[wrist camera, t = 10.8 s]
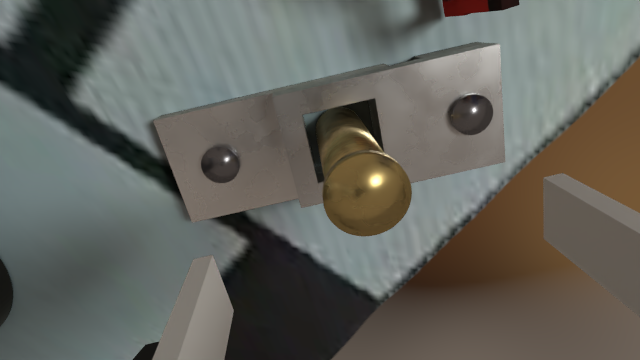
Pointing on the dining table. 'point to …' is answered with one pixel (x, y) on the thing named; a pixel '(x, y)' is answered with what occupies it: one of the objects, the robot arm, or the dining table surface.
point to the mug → (475, 6)
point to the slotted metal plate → (333, 91)
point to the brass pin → (359, 176)
